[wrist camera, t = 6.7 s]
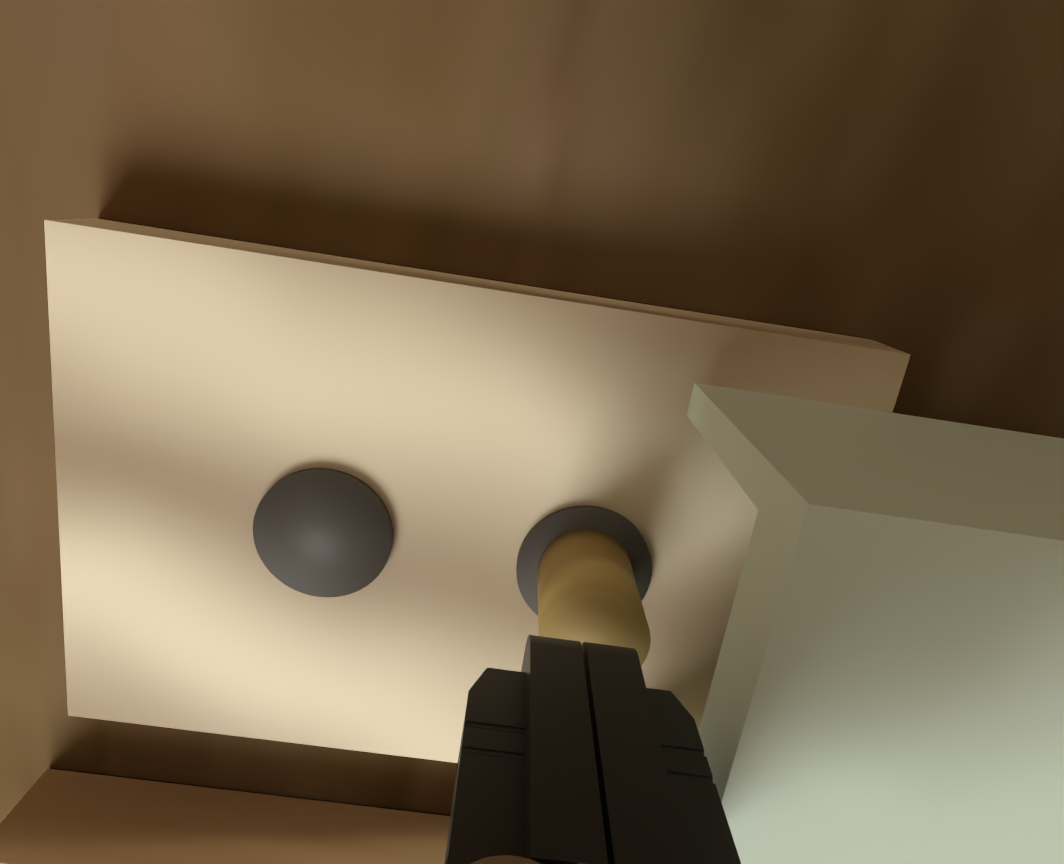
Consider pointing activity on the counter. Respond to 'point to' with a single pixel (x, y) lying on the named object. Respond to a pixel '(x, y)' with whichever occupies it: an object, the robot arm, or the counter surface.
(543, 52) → the counter surface
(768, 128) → the counter surface
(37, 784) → the socket board
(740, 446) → the cover
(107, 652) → the board
